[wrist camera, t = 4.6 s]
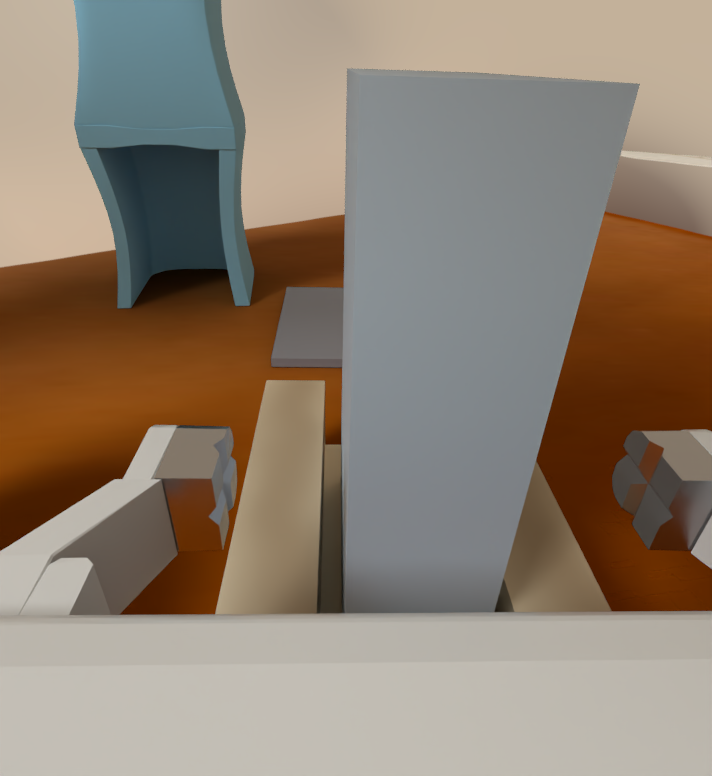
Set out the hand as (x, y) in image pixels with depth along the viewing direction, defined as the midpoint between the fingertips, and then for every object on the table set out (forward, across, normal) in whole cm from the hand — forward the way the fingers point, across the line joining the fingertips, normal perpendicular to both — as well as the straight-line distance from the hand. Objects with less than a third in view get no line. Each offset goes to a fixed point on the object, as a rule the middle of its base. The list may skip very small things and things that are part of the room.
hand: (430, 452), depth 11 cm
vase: (+34, +14, +10) cm, 38 cm away
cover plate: (+4, 0, +8) cm, 9 cm away
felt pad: (+26, 0, +9) cm, 27 cm away
